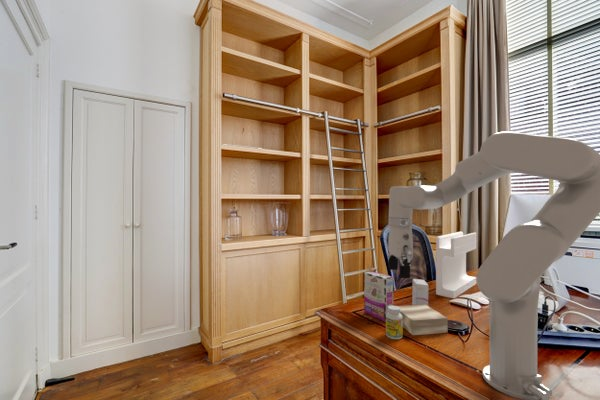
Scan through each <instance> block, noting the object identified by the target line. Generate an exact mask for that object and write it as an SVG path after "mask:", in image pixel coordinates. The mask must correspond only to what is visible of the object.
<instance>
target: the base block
mask: <svg viewBox="0 0 600 400" xmlns="http://www.w3.org/2000/svg"><path fill="white" fill-rule="evenodd" d="M397 306H398V307H400V314H401V315H402V318H403V329H404V330H406V331H407V332H408V333H410V334H411V335H412V336H420V335H421V336H423V335H433V334H446V333H448V331H449V330H448V327H449V326H448V324H449V323H448V322H449V320H448V317H446V315H444V314H442V313H440V312H439V311H437V310H435V309H433V308H432V307H431V306H429V305H428V306H427V305H412V304H411V305H409V304H408V305H397Z"/></svg>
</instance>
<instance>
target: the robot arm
mask: <svg viewBox="0 0 600 400" xmlns="http://www.w3.org/2000/svg"><path fill="white" fill-rule="evenodd" d="M512 173H519V174H522V175H523V174H524V175H529V176H533V177H539V178H543V179H547V180H552V181H556V182H559V186H558V187H557V189H556V191H555V192H554V193H553V194H552V195H551V196H550V197H548V199H547V201H545V203H544V204H543V206H542V207H541V209H540V210H539V211H538V212H537V213H536V214H535V216H533V217H532V219H531V220H530V221H528V222H523V223H521V224H518V225H516V226H514V227H512V228H511V229H510V230H509V231H508V232H507V233H506V234H505V235H504V236H503V238H502V239H501V240H499V242H498V243H497V245H496V246H495V247H494V249H493V250H492V251H491V253H490V254H489V255H488V256H487V258H486V259H485V260H484V261H483V263H482V264H481V265H480V267H479V268H478V270H477V273H476V284H477V287H478V289H479V291H480V293H481V294H482V295H483V296H484V297H486V298H487V299H489V300H490V302H489V364H488V365H486V366H484V367H483V368H482V377H483V379H484V380H485V382H486V383H488V385H490V387H492V388H493V389H495V390H497V391H499V392H501V393H503V394H505V395H507V396H510V397H513V398H517V399H520V400H550V396H552V395H553V390H551V389H550V388H549V387H547V386H545V385H544V384H543V379H542V378H543V376H542V375H540V374H539V373H538V324H539V323H538V321H539V318H538V314H539V312H538V311H539V298H540V291H541V276H542V275H543V274H545V272H546V271H547V270H548V269H549V268H550V267H551V266H552V265H553V264H554V263H555V262H557V261H559V260H561V259H562V258H563V257H564V256H565V255H566V254H567V252H568V251H569V250H570V248H571V246H572V245H573V244H574V243H575V242H576V241H577V240H578V239H579V237H580V236H581V235H583V233H584V232H585V231H586V229H587V228H589V226H590V225H591V224H592V223H593V222H594V220H595V219H596V218H597V217H598V216H599V215H600V153H599V152H598V151H597V150H596V149H594V148H593V147H592V146H590V145H588V144H586V143H585V142H582V141H580V140H577V139H572V138H570V137H569V138H568V137H559V136H548V135H539V134H531V133H530V134H529V133H523V132H522V133H521V132H515V131H500V132H496V133H493V134H491V135H490V136H488V137H487V138H486V139H485V140H484V141H483V142H482V144H481V146H480V149H479V151H478V152H476V153H474V154H473V155H470V156H468V157H466V158H464V159H463V160H461V161H459V162H457V164H456V165H455V170H454V171H453V174H452V175H450V176H448V177H447V178H446V179H444V180H441V181H439V182H437V183H436V184H433V185H419V184H418V185H410V186H407V185H405V186H404V185H397V186H396V185H394V186H391V187H390V189H389V195H388V227H389V230H388V243H387V247H388V249H387V251H388V254H387V255H388V262H387V263H388V264H387V265H388V266H387V268H388V270H390V271H392V270H394V271H398V265H399V262H400V265H399V278H400V279H410V278H411V266H412V261H413V257H414V237H413V212H414V210H435V209H439V208H441V207H444V206H447V205H449V204H450V203H453V202H456V201H457V200H459V199H462V198H464V197H465V196H466V195H468V194H470V193H471V192H473V191H474V190H476V189H478V188H480V187H482V186H484V185H487V184H489V183H491V182H493V181H495V180H498V179H500V178H502V177H505V176H506V175H507V176H508V175H509V174H512Z"/></svg>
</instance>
